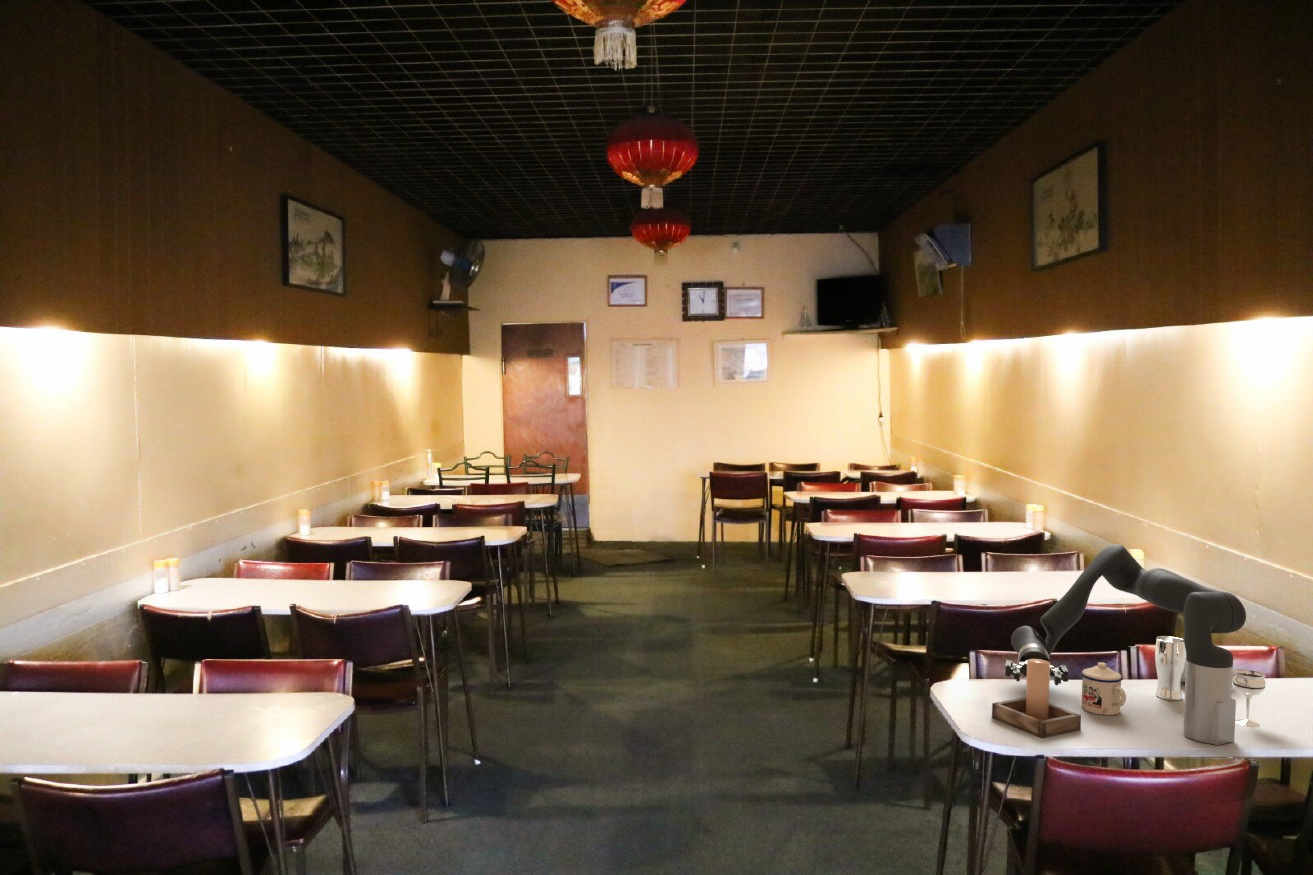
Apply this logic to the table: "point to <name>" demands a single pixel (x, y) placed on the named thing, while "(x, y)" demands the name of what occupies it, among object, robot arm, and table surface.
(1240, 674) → the wineglass
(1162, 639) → the beer glass
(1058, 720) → the tray
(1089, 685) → the teacup with lid
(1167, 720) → the table surface
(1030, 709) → the canister
